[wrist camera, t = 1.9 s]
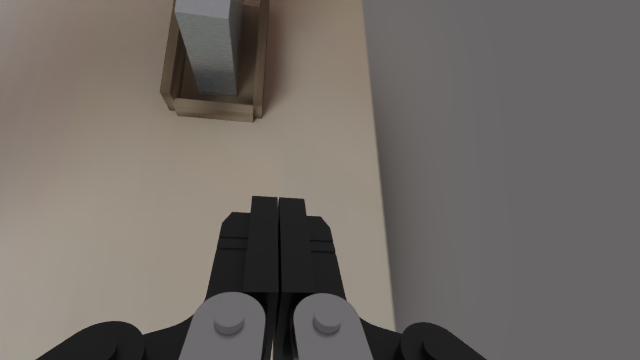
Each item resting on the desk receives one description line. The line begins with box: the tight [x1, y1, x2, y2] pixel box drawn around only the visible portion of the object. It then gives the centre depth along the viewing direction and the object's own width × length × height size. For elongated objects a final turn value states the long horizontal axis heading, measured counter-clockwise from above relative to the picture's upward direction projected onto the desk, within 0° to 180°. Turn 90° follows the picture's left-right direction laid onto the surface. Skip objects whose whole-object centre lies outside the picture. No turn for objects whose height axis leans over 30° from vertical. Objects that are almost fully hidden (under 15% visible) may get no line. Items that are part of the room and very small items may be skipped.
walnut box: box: [160, 0, 269, 122], centre depth 33 cm, size 9×14×4 cm, turn 179°
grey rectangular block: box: [174, 0, 244, 97], centre depth 30 cm, size 4×10×11 cm, turn 179°
